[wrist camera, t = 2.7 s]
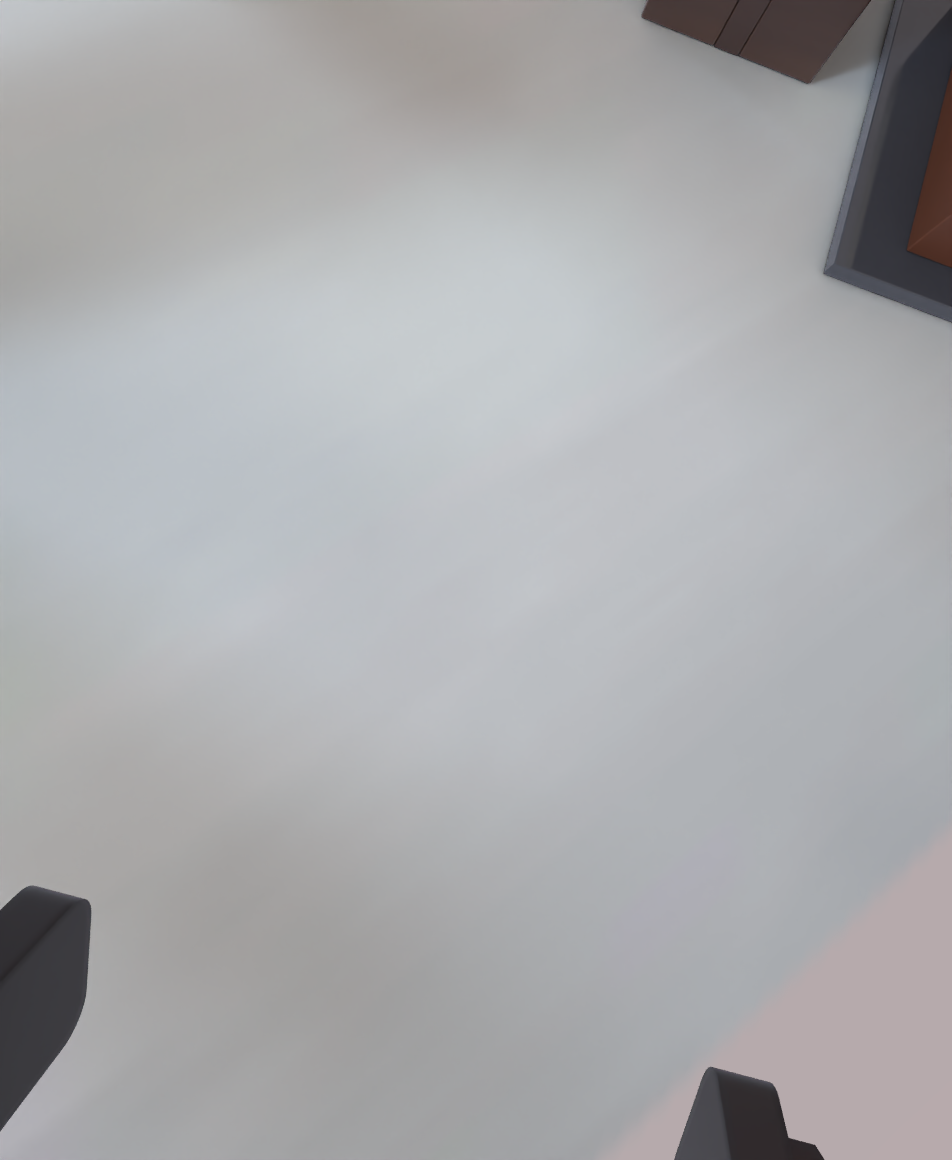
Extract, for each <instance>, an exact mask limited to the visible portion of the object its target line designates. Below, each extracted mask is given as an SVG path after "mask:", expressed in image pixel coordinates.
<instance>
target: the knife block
mask: <svg viewBox="0 0 952 1160" xmlns="http://www.w3.org/2000/svg"><path fill="white" fill-rule="evenodd" d="M870 1H871V0H646V3H645V6H644V9H643V12H642V17H643V18H645V19H647V20H650V21H652V22H655V23H657V24H660V25H662V26H665V27H667V28H670V29H672V30H675V31H677V32H680V33H682V34H685V35H687V36H690V37H692V38H695V39H697V40H700V41H702V42H705V43H707V44H710V45H714V44H715V45H714V47H716V48H719V49H721V50H724V51H726V52H729V53H731V54H734V55H736V56H738V55H739V56H740V57H743V58H745V59H748V60H750V61H753V62H755V63H758V64H760V65H763V66H765V67H768V68H770V69H773V70H775V71H778V72H780V73H783V74H785V75H788V76H790V77H793V78H795V79H798V80H800V81H803V82H805V83H810V82H811V81H812V80H813V78H814V77H815V75H816V74H817V73H818V71H819V70H820V69H821V67H822V66H823V65H824V63H825V62H826V61H827V59H828V58H829V57H830V55H831V54H832V52H833V51H834V50H835V48H836V47H837V46H838V44H839V43H840V42H841V40H842V39H843V38H844V36H845V35H846V33H847V32H848V31H849V29H850V28H851V27H852V25H853V24H854V23H855V21H856V20H857V19H858V17H859V16H860V15H861V13H862V12H863V10H864V9H865V8H866V6H867V5H868V4H869V2H870Z"/></svg>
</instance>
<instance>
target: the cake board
mask: <svg viewBox="0 0 952 1160" xmlns="http://www.w3.org/2000/svg"><path fill="white" fill-rule="evenodd" d="M951 68H952V0H895V4H894V8H893V12H892V16H891V19H890V23H889V27H888V31H887V35H886V38H885V42H884V46H883V50H882V54H881V57H880V61H879V65H878V69H877V73H876V76H875V80H874V84H873V88H872V92H871V95H870V99H869V103H868V107H867V111H866V114H865V118H864V122H863V126H862V130H861V133H860V137H859V141H858V145H857V148H856V152H855V156H854V160H853V164H852V167H851V171H850V175H849V179H848V183H847V186H846V190H845V194H844V198H843V202H842V205H841V209H840V213H839V217H838V221H837V224H836V228H835V232H834V236H833V240H832V243H831V247H830V251H829V255H828V259H827V262H826V266H825V270H824V274H826V275H829V276H831V277H834V278H837V279H839V280H842V281H844V282H847V283H850V284H852V285H855V286H858V287H860V288H863V289H866V290H868V291H871V292H874V293H876V294H879V295H881V296H884V297H887V298H889V299H892V300H895V301H897V302H900V303H903V304H905V305H908V306H911V307H913V308H916V309H918V310H921V311H924V312H926V313H929V314H932V315H934V316H937V317H940V318H942V319H945V320H948V321H950V322H952V268H951V267H948V266H946V265H943V264H940V263H938V262H935V261H933V260H930V259H927V258H925V257H922V256H920V255H917V254H914V253H912V252H909V251H907V246H908V242H909V238H910V234H911V230H912V226H913V222H914V218H915V214H916V210H917V206H918V202H919V197H920V193H921V189H922V185H923V181H924V177H925V173H926V169H927V165H928V161H929V157H930V153H931V149H932V145H933V141H934V137H935V133H936V129H937V125H938V121H939V117H940V113H941V108H942V104H943V100H944V96H945V92H946V88H947V84H948V80H949V76H950V72H951Z"/></svg>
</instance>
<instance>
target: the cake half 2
mask: <svg viewBox="0 0 952 1160" xmlns="http://www.w3.org/2000/svg"><path fill="white" fill-rule="evenodd" d="M907 251H909V252H912V253H914V254H917V255H920V256H922V257H925V258H927V259H930V260H933V261H935V262H938V263H940V264H943V265H946V266H948V267H951V268H952V68H951V72H950V76H949V80H948V84H947V88H946V92H945V96H944V100H943V104H942V108H941V113H940V117H939V121H938V125H937V129H936V133H935V137H934V141H933V145H932V149H931V153H930V157H929V161H928V165H927V169H926V173H925V177H924V181H923V185H922V189H921V193H920V197H919V202H918V206H917V210H916V214H915V218H914V222H913V226H912V230H911V234H910V238H909V242H908V246H907Z"/></svg>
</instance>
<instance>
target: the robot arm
mask: <svg viewBox="0 0 952 1160" xmlns="http://www.w3.org/2000/svg"><path fill="white" fill-rule="evenodd" d="M90 926H91V905H90V903H89V901H88V900H86V899H82V898H78V897H75V896H71V895H67V894H63V893H60V892H56V891H52V890H48V889H44V888H41V887H37V886H28V887H26V888H24V889H23V890H21V891H20V892H19V893H18V894H17V895H16V896H15V897H13V898H12V899H11V900H10V901H9V902H8V903H7V904H6V905H5V906H4V907H3V908H2V909H1V910H0V1131H1V1130H2V1128H3V1127H4V1126H5V1124H6V1123H7V1122H8V1120H9V1119H10V1118H11V1116H12V1115H13V1114H14V1112H15V1111H16V1110H17V1108H18V1107H19V1106H20V1104H21V1103H22V1102H23V1100H24V1099H25V1098H26V1096H27V1095H28V1094H29V1092H30V1091H31V1090H32V1088H33V1087H34V1086H35V1084H36V1083H37V1082H38V1080H39V1079H40V1078H41V1077H42V1075H43V1074H44V1073H45V1071H46V1070H47V1069H48V1067H49V1066H50V1065H51V1063H52V1062H53V1061H54V1059H55V1058H56V1057H57V1055H58V1054H59V1053H60V1051H61V1050H62V1049H63V1047H64V1046H65V1044H66V1043H67V1041H68V1040H69V1038H70V1036H71V1034H72V1032H73V1031H74V1029H75V1026H76V1024H77V1022H78V1020H79V1017H80V1015H81V1012H82V1009H83V1005H84V1002H85V997H86V989H87V974H88V958H89V942H90ZM674 1160H824V1158H823V1157H822V1155H821V1154H820V1152H819V1151H818V1149H817V1147H816V1146H815V1145H813V1144H809V1143H805V1142H802V1141H798V1140H794V1139H790V1138H788V1134H787V1130H786V1126H785V1122H784V1118H783V1113H782V1109H781V1105H780V1101H779V1097H778V1094H777V1091H776V1089H775V1087H774V1086H773V1084H772V1083H770V1082H767V1081H763V1080H759V1079H755V1078H751V1077H748V1076H743V1075H740V1074H736V1073H732V1072H728V1071H725V1070H721V1069H717V1068H714V1067H709V1068H708V1069H707V1070H706V1071H705V1073H704V1075H703V1078H702V1080H701V1083H700V1086H699V1089H698V1092H697V1095H696V1098H695V1101H694V1104H693V1106H692V1109H691V1112H690V1115H689V1118H688V1121H687V1123H686V1126H685V1129H684V1132H683V1135H682V1138H681V1141H680V1144H679V1147H678V1149H677V1153H676V1156H675V1159H674Z"/></svg>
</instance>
